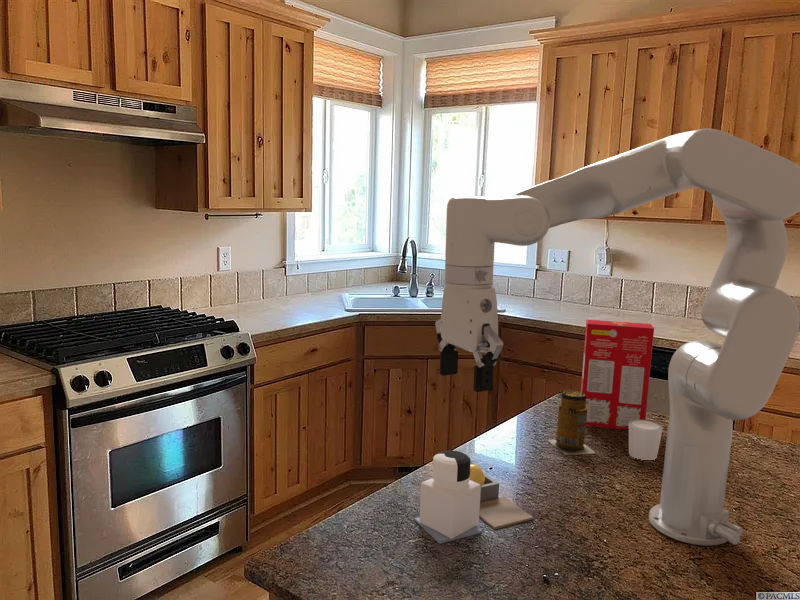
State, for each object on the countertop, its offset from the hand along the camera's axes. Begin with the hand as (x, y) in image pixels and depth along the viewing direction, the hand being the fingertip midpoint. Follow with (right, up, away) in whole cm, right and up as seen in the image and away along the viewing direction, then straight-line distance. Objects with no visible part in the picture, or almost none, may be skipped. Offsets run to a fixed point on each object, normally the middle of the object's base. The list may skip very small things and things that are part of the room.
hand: (465, 382), depth 103 cm
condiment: (+27, -19, +38) cm, 51 cm away
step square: (+7, -24, +8) cm, 26 cm away
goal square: (-3, -24, +3) cm, 24 cm away
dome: (+3, -22, +14) cm, 26 cm away
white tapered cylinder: (+42, -20, +35) cm, 58 cm away
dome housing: (+3, -22, +14) cm, 27 cm away
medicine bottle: (-2, -24, +3) cm, 24 cm away
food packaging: (+41, -17, +53) cm, 69 cm away
